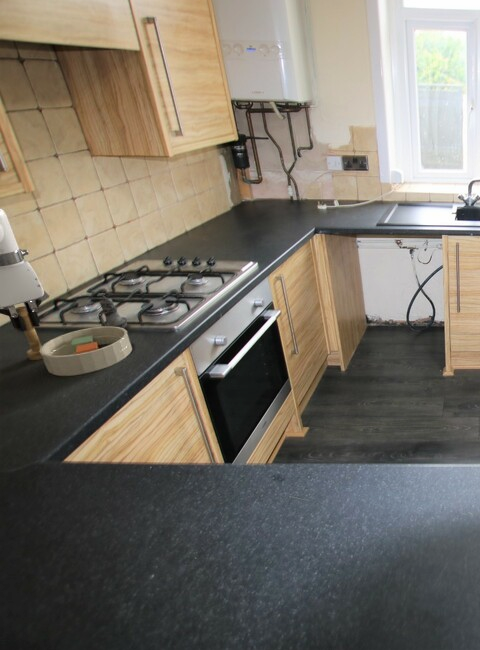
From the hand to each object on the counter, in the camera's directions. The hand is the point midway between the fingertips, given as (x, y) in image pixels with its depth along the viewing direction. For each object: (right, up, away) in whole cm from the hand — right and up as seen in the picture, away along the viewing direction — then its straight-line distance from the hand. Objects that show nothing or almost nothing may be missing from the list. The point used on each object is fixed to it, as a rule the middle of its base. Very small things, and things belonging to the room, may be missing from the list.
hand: (28, 327), depth 121 cm
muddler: (0, -8, +3) cm, 9 cm away
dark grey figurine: (+9, -2, +18) cm, 20 cm away
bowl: (+14, -9, +3) cm, 17 cm away
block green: (+11, -7, +5) cm, 14 cm away
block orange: (+15, -9, +1) cm, 17 cm away
